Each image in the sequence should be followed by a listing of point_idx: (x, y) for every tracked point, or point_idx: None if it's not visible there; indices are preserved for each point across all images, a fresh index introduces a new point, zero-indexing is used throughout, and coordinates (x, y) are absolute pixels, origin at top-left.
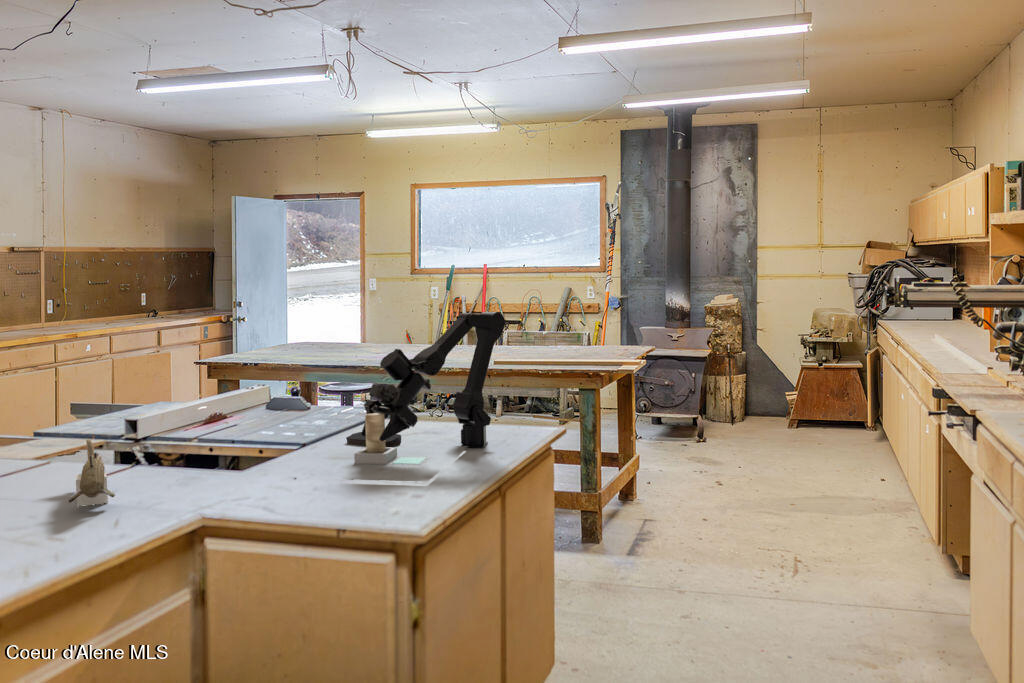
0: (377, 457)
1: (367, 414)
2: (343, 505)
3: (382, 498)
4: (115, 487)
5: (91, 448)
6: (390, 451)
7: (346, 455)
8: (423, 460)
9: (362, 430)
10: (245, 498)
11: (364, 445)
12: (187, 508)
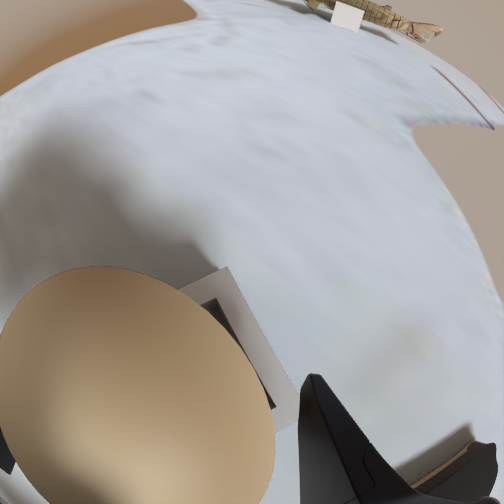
0: None
1: (238, 397)
2: (53, 91)
3: (11, 138)
4: (397, 53)
5: (421, 23)
6: None
7: (410, 390)
8: None
9: (329, 391)
10: (216, 42)
11: (429, 478)
12: (241, 20)
